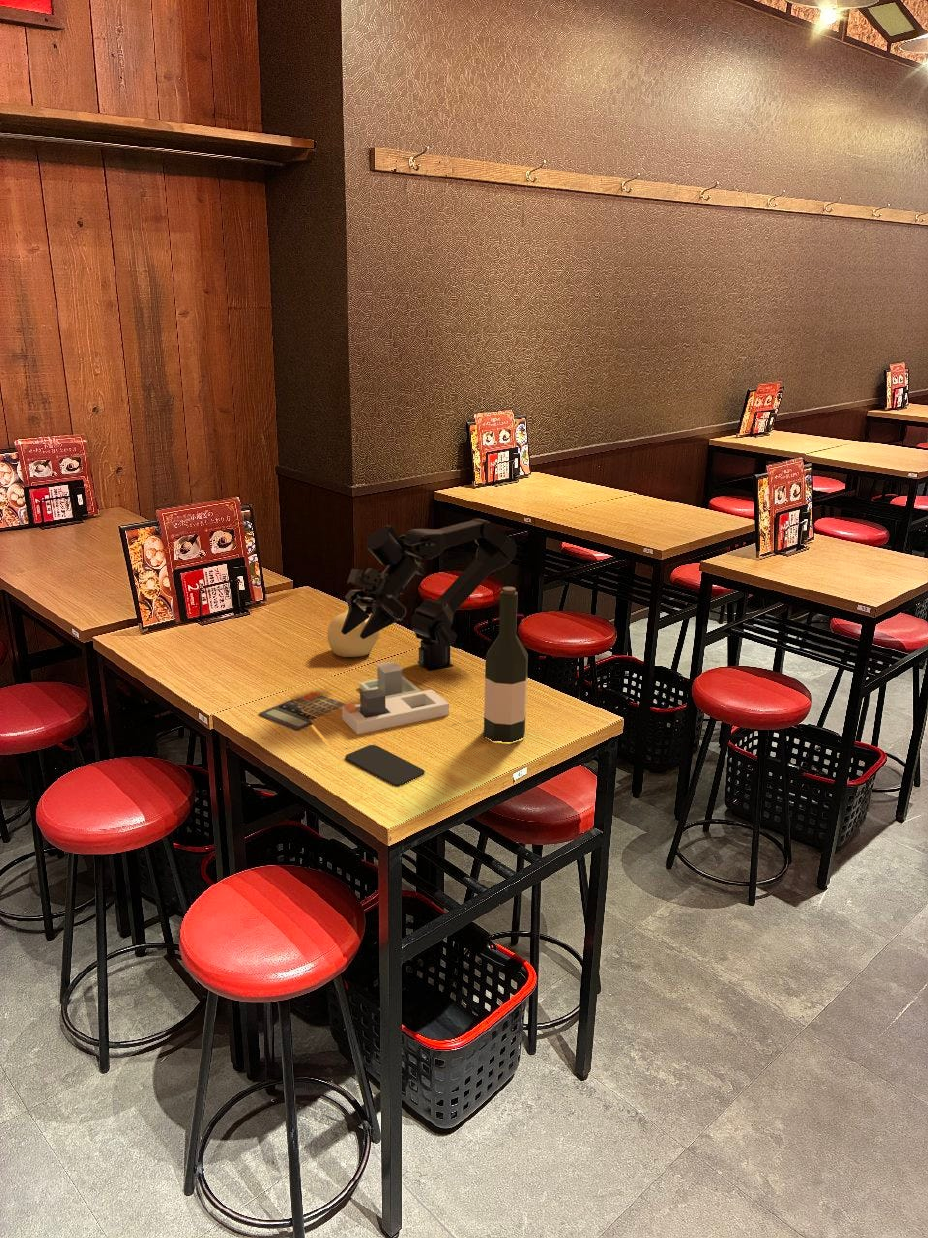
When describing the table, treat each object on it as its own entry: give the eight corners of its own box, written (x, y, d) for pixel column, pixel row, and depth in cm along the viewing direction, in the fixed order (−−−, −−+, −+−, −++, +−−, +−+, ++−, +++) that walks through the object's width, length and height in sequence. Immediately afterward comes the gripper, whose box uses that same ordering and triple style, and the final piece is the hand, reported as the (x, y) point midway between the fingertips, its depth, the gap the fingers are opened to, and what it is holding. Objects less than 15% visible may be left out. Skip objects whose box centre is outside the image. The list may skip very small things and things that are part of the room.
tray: (401, 681, 201) (401, 674, 200) (420, 698, 193) (420, 690, 192) (359, 689, 196) (359, 682, 196) (377, 706, 188) (377, 699, 188)
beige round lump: (387, 655, 216) (386, 613, 212) (341, 665, 209) (340, 622, 206) (364, 641, 225) (363, 600, 221) (320, 650, 218) (318, 608, 215)
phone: (396, 786, 157) (342, 756, 166) (396, 790, 157) (342, 760, 167) (427, 771, 162) (373, 743, 171) (427, 775, 162) (373, 747, 172)
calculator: (351, 704, 188) (297, 728, 177) (351, 708, 188) (297, 732, 177) (312, 689, 195) (258, 712, 184) (313, 693, 195) (258, 716, 184)
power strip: (431, 702, 191) (431, 674, 189) (448, 717, 184) (449, 687, 182) (342, 720, 182) (341, 691, 179) (357, 736, 175) (356, 706, 173)
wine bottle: (512, 748, 171) (518, 598, 162) (475, 737, 176) (478, 590, 166) (533, 732, 178) (539, 586, 168) (496, 721, 182) (500, 579, 172)
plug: (394, 686, 197) (394, 661, 195) (402, 693, 194) (402, 667, 192) (377, 690, 195) (377, 664, 193) (385, 696, 192) (384, 670, 190)
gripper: (350, 553, 199) (307, 608, 195) (389, 555, 183) (343, 615, 179) (384, 585, 204) (343, 639, 200) (425, 589, 188) (381, 649, 184)
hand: (351, 635), depth 190 cm, fingers open, 9 cm apart
